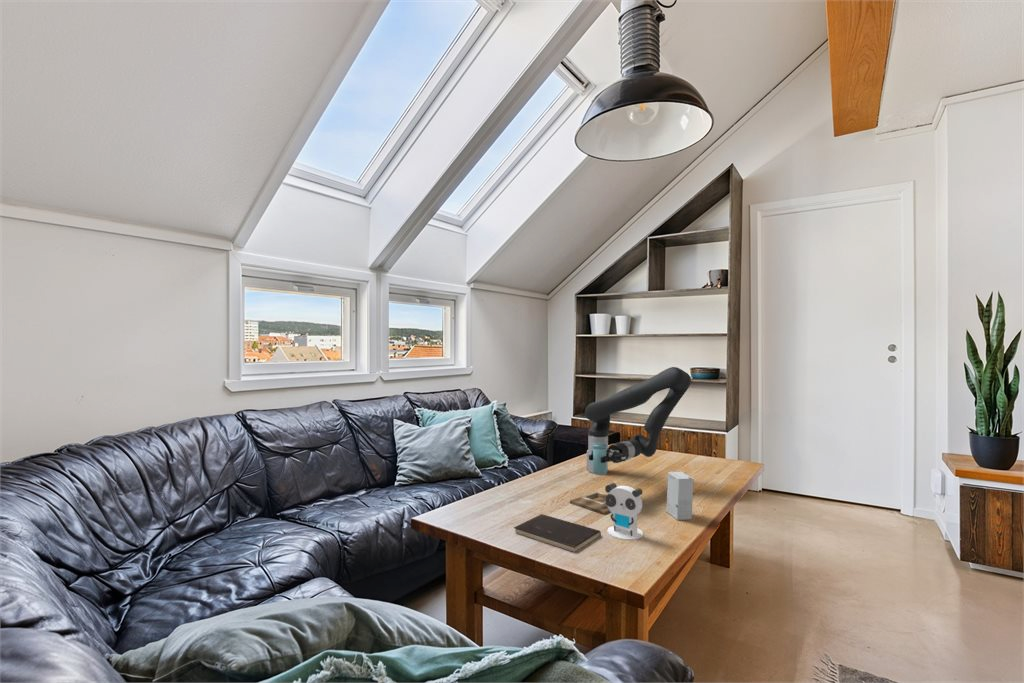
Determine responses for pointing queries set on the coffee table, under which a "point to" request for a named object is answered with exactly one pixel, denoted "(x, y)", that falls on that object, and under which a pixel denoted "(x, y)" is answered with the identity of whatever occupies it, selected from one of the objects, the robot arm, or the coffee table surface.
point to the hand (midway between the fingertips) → (595, 458)
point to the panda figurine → (624, 511)
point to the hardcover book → (557, 532)
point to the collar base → (593, 502)
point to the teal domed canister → (599, 458)
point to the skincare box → (679, 495)
